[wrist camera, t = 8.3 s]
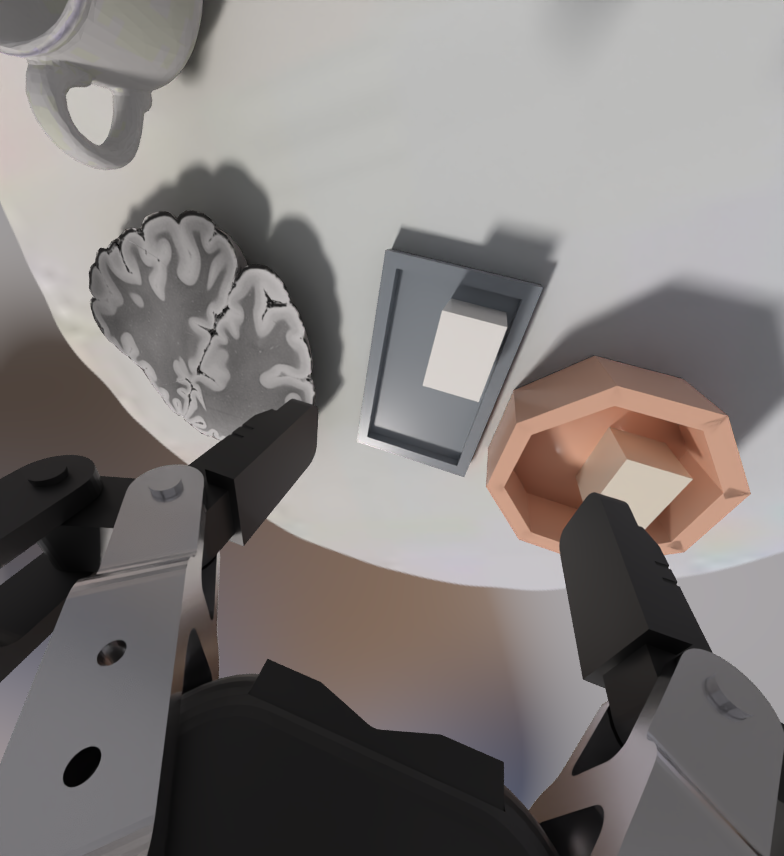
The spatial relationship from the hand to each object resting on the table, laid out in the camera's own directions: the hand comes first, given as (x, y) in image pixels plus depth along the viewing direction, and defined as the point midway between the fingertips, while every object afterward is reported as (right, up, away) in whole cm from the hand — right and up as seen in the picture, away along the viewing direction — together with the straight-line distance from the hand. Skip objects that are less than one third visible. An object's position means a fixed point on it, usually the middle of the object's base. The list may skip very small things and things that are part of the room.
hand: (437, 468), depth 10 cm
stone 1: (+3, +7, +11) cm, 14 cm away
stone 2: (+14, -1, +12) cm, 18 cm away
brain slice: (-14, +9, +17) cm, 24 cm away
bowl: (+12, 0, +13) cm, 18 cm away
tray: (+2, +5, +13) cm, 14 cm away
